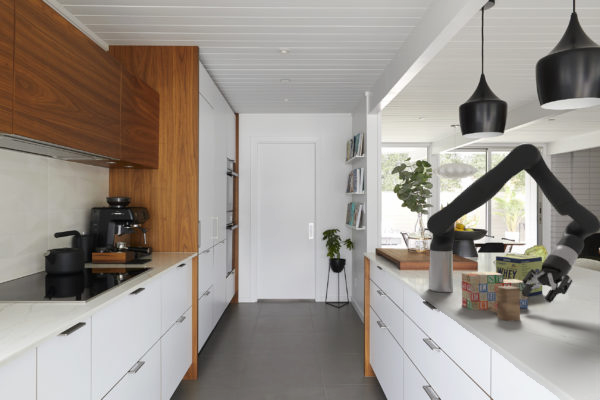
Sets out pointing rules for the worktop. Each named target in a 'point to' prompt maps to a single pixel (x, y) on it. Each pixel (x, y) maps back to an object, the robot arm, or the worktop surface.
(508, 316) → the wooden mallet
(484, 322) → the worktop surface
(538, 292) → the protein box
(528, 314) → the worktop surface
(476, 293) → the stack of blocks
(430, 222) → the robot arm
